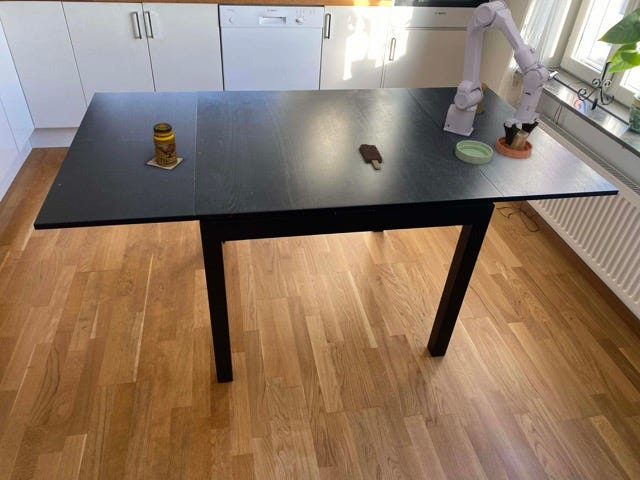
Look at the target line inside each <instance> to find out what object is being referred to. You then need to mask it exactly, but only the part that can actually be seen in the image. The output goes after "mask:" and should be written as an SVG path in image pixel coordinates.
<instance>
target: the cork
mask: <svg viewBox="0 0 640 480" xmlns="http://www.w3.org/2000/svg"><path fill="white" fill-rule="evenodd" d="M481 84H482V86H481V89H482V92H483V98H482V100H481V102H480V103H478V104H477V109H476V113H475V115H479V114H482V113H483V112H484V105H485V98H486V97H485V96H486V93H487V91H488V89H489V86H488V84H487V83H484V82H481Z"/></svg>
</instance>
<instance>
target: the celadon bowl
mask: <svg viewBox="0 0 640 480" xmlns="http://www.w3.org/2000/svg"><path fill="white" fill-rule="evenodd" d="M454 154H455V156H456V157H457V158H458V159H459V160H461V161H463V162H466V163H468V164H473V165H486V164H488V163H490V162H491V161H492V158H493V154H494V150H493V148H492V147H491V146H490V145H488V144H486V143H484V142H481V141H478V140H461V141H459V142H457V143H456V145H455V150H454Z"/></svg>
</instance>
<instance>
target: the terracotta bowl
mask: <svg viewBox="0 0 640 480" xmlns="http://www.w3.org/2000/svg"><path fill="white" fill-rule="evenodd" d="M504 145H505V135H502V136H499V137H497V139H496V142H495V144H494V149H495V151H496V152H498V153H499V154H500V155H503V156H504V157H506V158H507V157H508V158H511V159H519V160H523V159H527V158H529V157H530V156H531V154H532V151H533V148H534V146H533V144H532V143H531V142H530V141H529V140H526V143H525V146H524V149H523V151H514V150H511V149H507V148H505V147H504Z"/></svg>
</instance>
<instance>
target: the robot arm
mask: <svg viewBox="0 0 640 480" xmlns="http://www.w3.org/2000/svg"><path fill="white" fill-rule="evenodd" d="M507 5H508V4H507V3H506V2H505V1H504V0H494V1H490V2H484V3H482V4H480V5H479V6H477V7H476V8H475V9H473V14H472V16H471V18H470V20H469V22H467V23H468V24H467V26H466V34H465V44H464V47H465V48H464V58H463V60H464V61H463V70H462V81H461V82H460V83H459V85H458V87H457V90H456V94H455V95H454V99H453V102H454V103H451V104H450V106H449V108H448V110H447V115H446V119H445V124H444V127H443V131H446V132H450V133H453V134H456V135H457V134H458V135H461V136H465V137H470V135H471V134H472V132H473V131H474V130H475V128H474V127H473V123H474V120H475V116H476V114H475V113H476V109H477V104H478V103H480V102H481V100H482V98H483V92H482V89H481V86H482V84H481V83H482V82H481V81H480V71H481V61H482V50H483V41H484V33H485V31H486V30H488V29H489V28H492V29H496V30H499V31H501V33H502V34H503V35H504V37H505V38H506V40H507V42H508V43H509V45H510V46H511V47H512V49H513V51H514V52H513V56H512V57H513V59H514V60H515V63H516V64H517V66H518V68H519V70H520V72H521V73H522V74H523V77H522V82H523V84H524V85H523V88H522V90H521V93H520V96H519V100H518V103H517V106H516V110H515V113H514V114H513V115H512V116H511V117H509V118H508V119H506V120H505V122H503V129H504V136H505V144H507V145H509V146H511V144H512V143H513V140H514V138H515V136H516V134H517V133H518V132H519V131H520V129H521V130H523V131H525V132H527V133H529V134H528V137H527V139H528V138H529V136H530V135H531V133H532V132H533V131H534V130H535V129H536V128H537V127H538V126H539V124H540V122H539V118H540V113H538V112H536V109H537V106H538V104H539V100H540V98H541V95H542V91H543V89H544V84H545V83H547V82H548V81H549V80H550V79H549V78H550V70H549V68H548V66H546V65H544V64H543V63H542V61H540V59H539V58H538V56H537V54H536V49H535V47H532V45H529V44H526V43H525V42H524V40H523V37H522V35H521V33H520V31H519V29H518V27H517V25H516V23H515V21H514V19H513V17H512V11H511V10H510V8H508V6H507ZM519 124H521V128H519V127H518V126H517V125H519Z"/></svg>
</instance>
